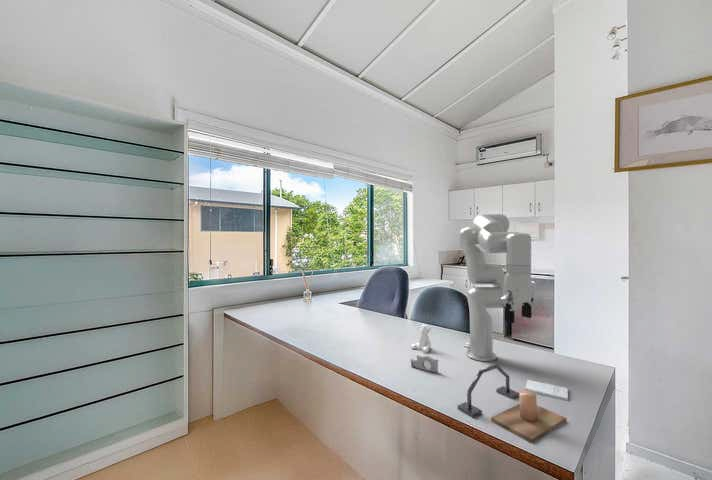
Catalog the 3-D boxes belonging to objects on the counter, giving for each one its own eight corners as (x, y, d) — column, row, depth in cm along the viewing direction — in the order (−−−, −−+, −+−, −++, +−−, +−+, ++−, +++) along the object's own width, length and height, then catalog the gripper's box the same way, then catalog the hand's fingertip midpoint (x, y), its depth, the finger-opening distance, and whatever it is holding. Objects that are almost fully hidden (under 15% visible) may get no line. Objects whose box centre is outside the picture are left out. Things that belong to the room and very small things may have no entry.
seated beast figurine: (410, 348, 155) (409, 324, 155) (420, 344, 161) (420, 321, 161) (426, 353, 148) (425, 328, 148) (436, 349, 154) (436, 324, 154)
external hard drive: (527, 383, 117) (567, 392, 110) (525, 392, 111) (567, 402, 104) (527, 379, 117) (567, 387, 110) (525, 388, 111) (567, 397, 104)
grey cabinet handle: (457, 408, 100) (456, 372, 100) (503, 388, 112) (502, 356, 112) (473, 417, 95) (472, 379, 95) (519, 395, 107) (518, 361, 107)
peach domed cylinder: (517, 416, 93) (516, 392, 94) (525, 411, 96) (525, 388, 96) (531, 423, 90) (530, 398, 90) (540, 418, 92) (539, 394, 92)
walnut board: (491, 420, 93) (491, 417, 93) (525, 403, 102) (525, 400, 102) (531, 443, 83) (531, 439, 83) (566, 421, 92) (566, 417, 92)
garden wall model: (410, 366, 133) (410, 352, 133) (412, 365, 135) (411, 351, 135) (437, 373, 126) (437, 358, 126) (439, 371, 128) (438, 357, 128)
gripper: (522, 266, 114) (522, 313, 115) (492, 270, 105) (492, 321, 106) (543, 268, 107) (543, 318, 108) (513, 273, 99) (513, 327, 99)
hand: (518, 319), depth 107 cm, fingers open, 9 cm apart
